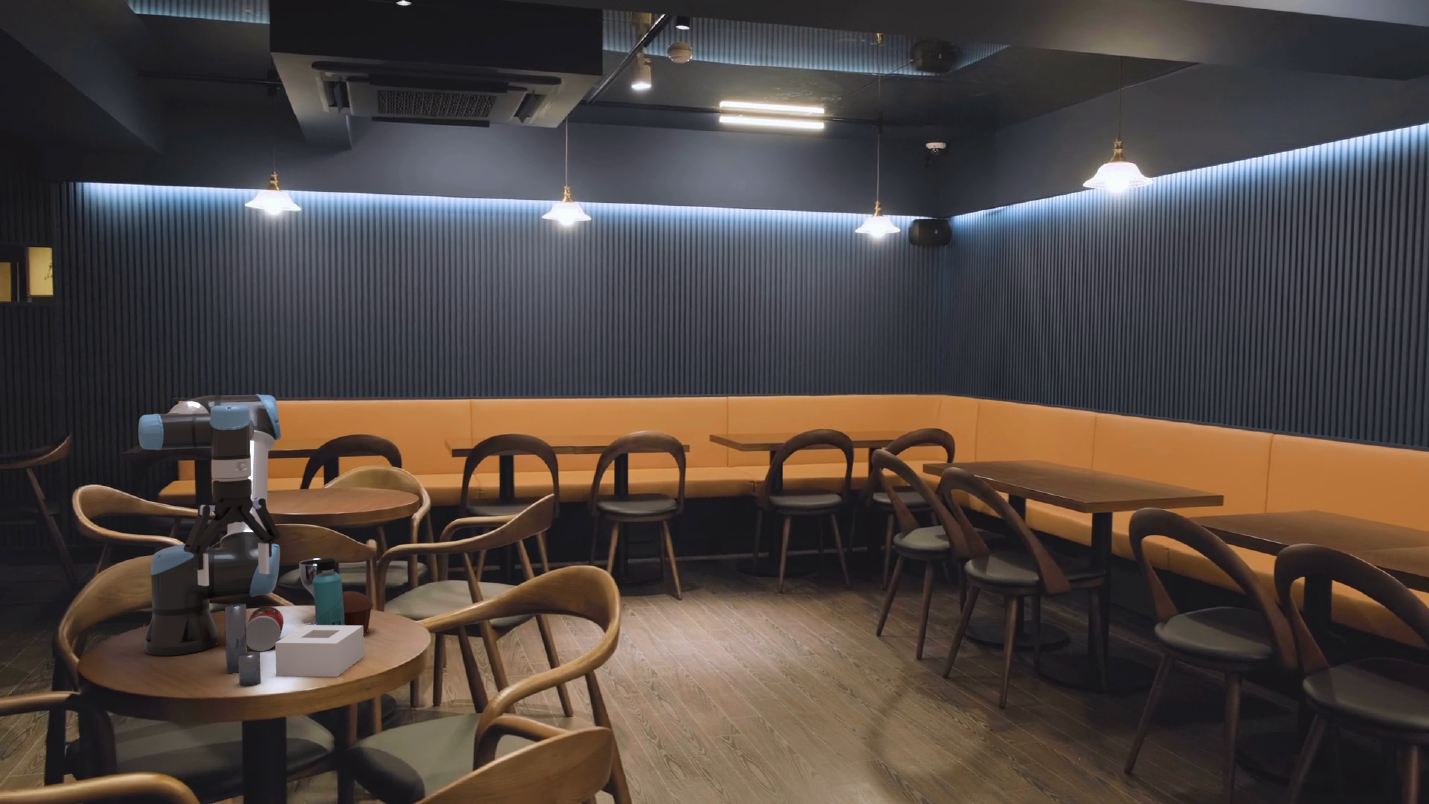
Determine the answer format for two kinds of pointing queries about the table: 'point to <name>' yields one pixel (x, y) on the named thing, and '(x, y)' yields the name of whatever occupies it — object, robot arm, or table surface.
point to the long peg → (235, 635)
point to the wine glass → (310, 578)
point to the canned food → (264, 628)
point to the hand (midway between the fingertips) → (234, 579)
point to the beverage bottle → (328, 595)
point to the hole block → (319, 650)
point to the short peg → (249, 669)
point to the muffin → (357, 609)
